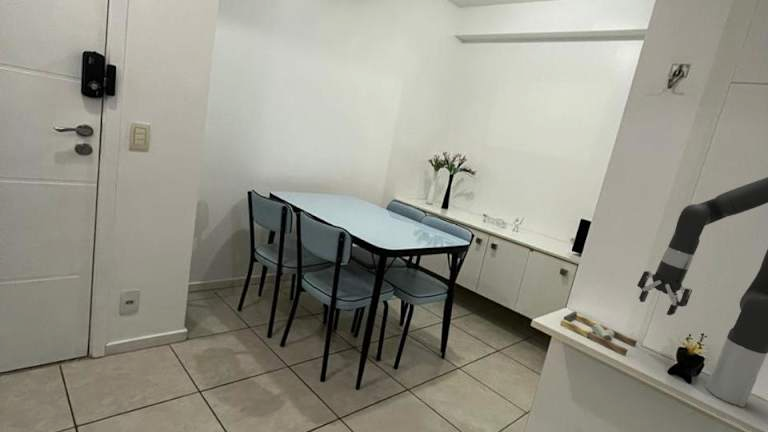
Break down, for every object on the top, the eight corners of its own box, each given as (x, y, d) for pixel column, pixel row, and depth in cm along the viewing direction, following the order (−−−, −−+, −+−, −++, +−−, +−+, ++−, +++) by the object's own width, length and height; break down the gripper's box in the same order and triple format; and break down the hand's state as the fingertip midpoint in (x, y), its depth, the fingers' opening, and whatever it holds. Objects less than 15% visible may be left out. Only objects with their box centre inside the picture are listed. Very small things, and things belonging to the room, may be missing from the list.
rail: (635, 345, 143) (638, 338, 142) (624, 356, 133) (627, 348, 133) (573, 317, 158) (576, 310, 157) (560, 324, 148) (562, 317, 147)
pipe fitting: (608, 337, 147) (590, 331, 148) (612, 327, 147) (594, 322, 147) (618, 348, 140) (600, 342, 140) (623, 338, 139) (604, 333, 139)
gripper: (704, 273, 125) (683, 318, 129) (657, 254, 137) (638, 297, 141) (695, 273, 121) (673, 320, 125) (646, 254, 133) (628, 298, 136)
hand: (655, 308), depth 133 cm, fingers open, 8 cm apart
